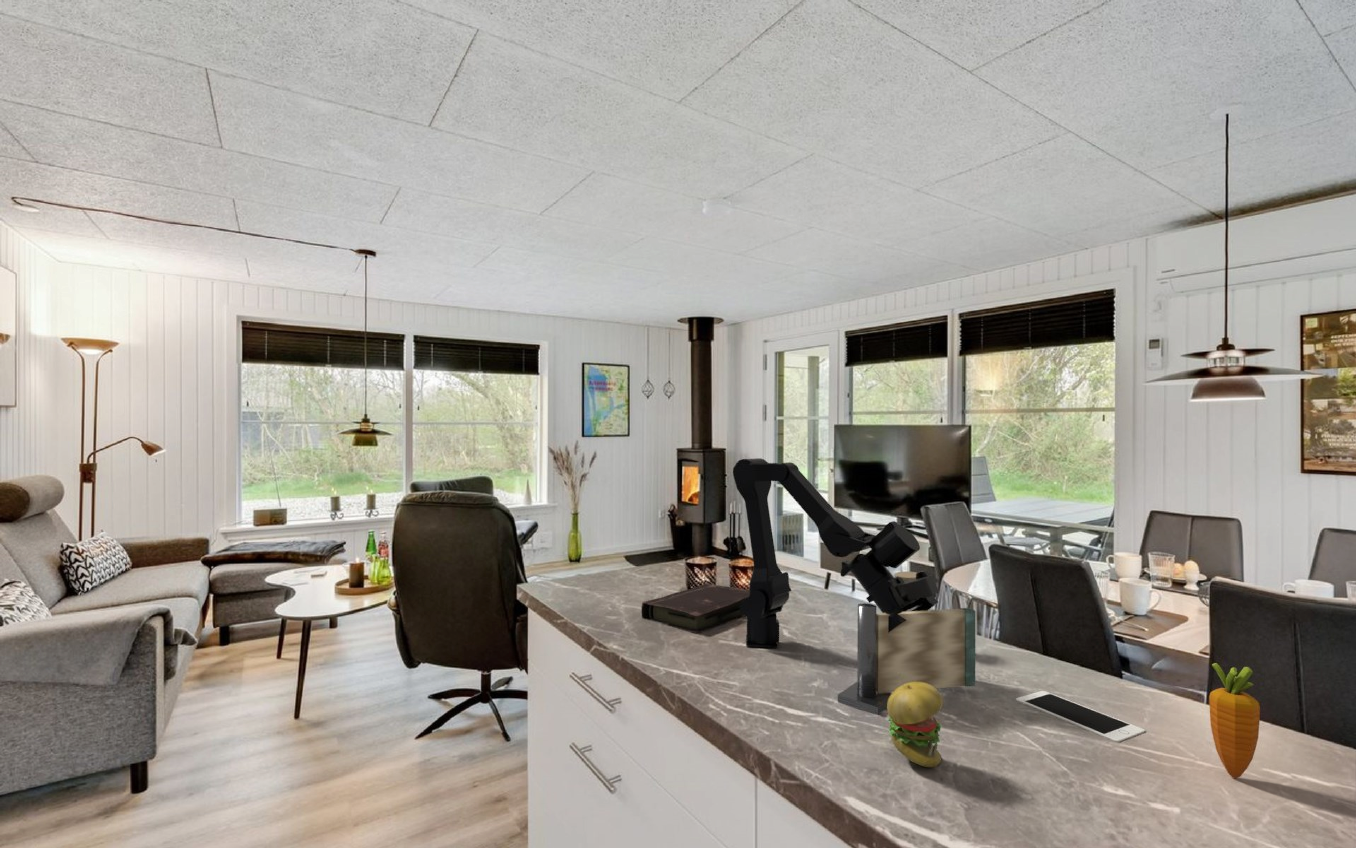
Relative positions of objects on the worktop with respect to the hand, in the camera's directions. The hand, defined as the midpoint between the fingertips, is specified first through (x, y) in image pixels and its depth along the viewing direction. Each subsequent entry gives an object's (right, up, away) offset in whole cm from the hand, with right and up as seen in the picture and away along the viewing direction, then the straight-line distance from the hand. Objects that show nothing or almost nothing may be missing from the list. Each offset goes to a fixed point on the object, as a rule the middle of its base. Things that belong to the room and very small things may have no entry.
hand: (937, 658), depth 108 cm
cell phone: (+19, -7, -8) cm, 22 cm away
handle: (+4, -6, +24) cm, 25 cm away
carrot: (+28, -6, -26) cm, 39 cm away
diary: (-39, -7, +45) cm, 60 cm away
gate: (-3, -4, -2) cm, 6 cm away
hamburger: (-13, -6, -23) cm, 27 cm away
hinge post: (-14, -6, -4) cm, 15 cm away
